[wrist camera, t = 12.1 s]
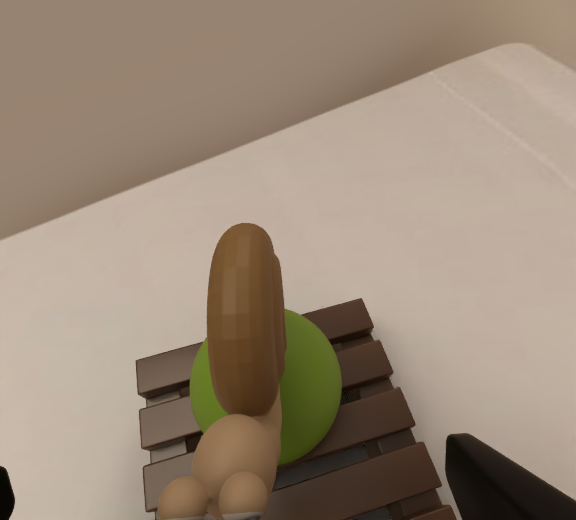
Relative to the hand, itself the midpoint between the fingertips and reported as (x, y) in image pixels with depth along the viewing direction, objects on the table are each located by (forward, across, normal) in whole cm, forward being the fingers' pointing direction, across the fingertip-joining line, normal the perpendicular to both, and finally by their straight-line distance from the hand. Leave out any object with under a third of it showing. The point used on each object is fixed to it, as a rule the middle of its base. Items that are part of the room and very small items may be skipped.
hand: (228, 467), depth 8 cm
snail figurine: (+8, 0, +4) cm, 9 cm away
